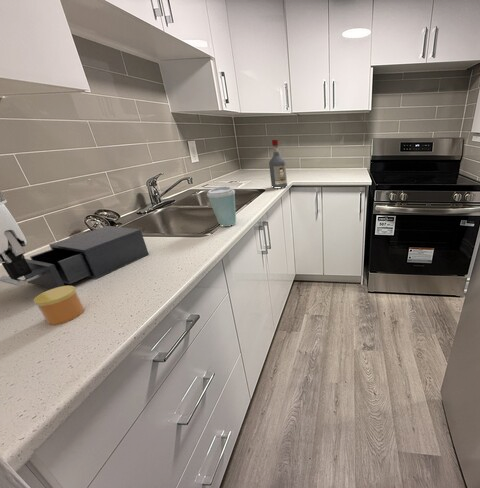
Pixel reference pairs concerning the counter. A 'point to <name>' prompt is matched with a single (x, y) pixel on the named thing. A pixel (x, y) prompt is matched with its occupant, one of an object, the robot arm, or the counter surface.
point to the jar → (59, 304)
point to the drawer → (54, 269)
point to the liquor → (277, 168)
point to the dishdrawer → (107, 248)
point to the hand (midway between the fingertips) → (21, 275)
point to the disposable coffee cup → (223, 204)
